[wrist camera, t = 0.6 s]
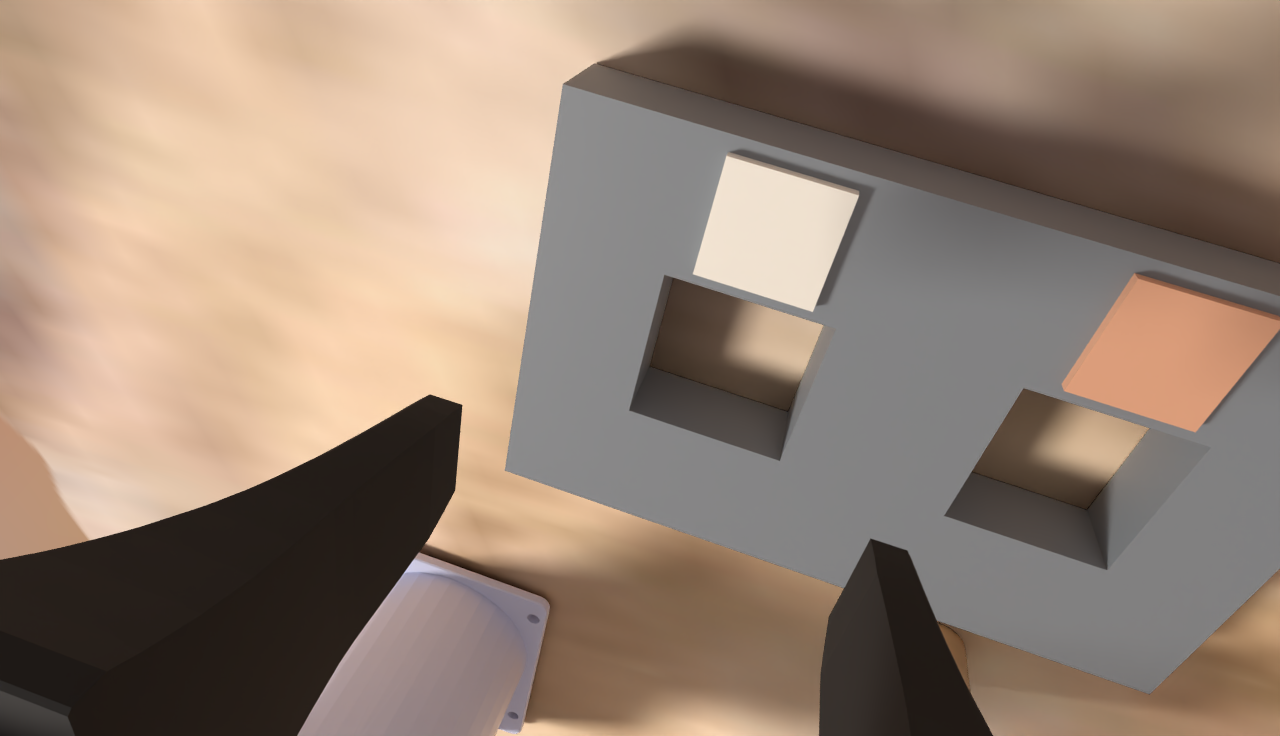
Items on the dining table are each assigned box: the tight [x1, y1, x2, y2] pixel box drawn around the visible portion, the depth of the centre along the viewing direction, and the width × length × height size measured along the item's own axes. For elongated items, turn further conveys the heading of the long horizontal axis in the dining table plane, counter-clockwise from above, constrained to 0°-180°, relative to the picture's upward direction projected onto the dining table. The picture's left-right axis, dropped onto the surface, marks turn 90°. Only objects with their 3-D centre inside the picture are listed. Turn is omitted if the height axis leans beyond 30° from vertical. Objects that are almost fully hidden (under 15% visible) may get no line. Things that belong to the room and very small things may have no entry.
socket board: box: [505, 64, 1280, 694], centre depth 21 cm, size 12×20×3 cm, turn 78°
